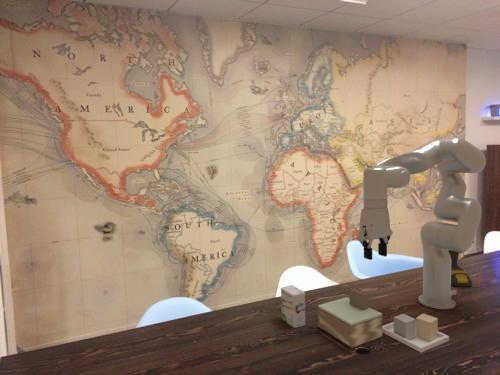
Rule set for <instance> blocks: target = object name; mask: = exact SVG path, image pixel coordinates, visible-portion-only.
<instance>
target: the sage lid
mask: <svg viewBox="0 0 500 375" xmlns="http://www.w3.org/2000/svg"><path fill="white" fill-rule="evenodd" d="M348 291H349V296H346V297H343V298H338V299H335V300H332V301H328V302H324V303H322V304H318V305H317V309H318V308H320V309H322V310H324V311H325V312H327V313H329V314H331V315H333V316H334V317H336V318H338V319H340V320H342V321H343V322H345V323H347V324H349V325H350V326H353V325H356V324H359V323H362V322H365V321H368V320H371V319H374V318H377V317H380V316H382V317H383V313H382V312H380V311H378V310H375V309H373V308H371V307H370V306H369V293H367V292H365V291H362V290H360V289H358V288H355V287H354V288H350V289H349V290H348Z"/></svg>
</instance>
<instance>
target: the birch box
mask: <svg viewBox="0 0 500 375" xmlns="http://www.w3.org/2000/svg"><path fill="white" fill-rule="evenodd" d="M382 326H383V315H382V316H380V317H377V318H374V319H371V320H368V321H365V322H362V323H359V324H356V325H353V326H350V325H349V324H347V323H345V322H343V321H342V320H340V319H338V318H336V317H334V316H333V315H331V314H329V313H327V312H325V311H324V310H322V309H320V308H318V307H317V327H318V328H320V329H321V330H323V331H324V332H326V333H328V334H329V335H331V336H332V337H334V338H335V339H337V340H339V341H340V342H341V343H342V344H345V345H346V346H348V347H350V348H355V347H358V346H360V345H364V344H366V343H369V342H370V341H373V340H376V339H379V338H382V337H383V333H382Z"/></svg>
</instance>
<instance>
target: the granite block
mask: <svg viewBox="0 0 500 375" xmlns="http://www.w3.org/2000/svg"><path fill="white" fill-rule="evenodd" d="M393 322H394V333H395V334H397V335H399V336H401V337H403V338H405V339H407V340H411V339H414V338H416V318H413V317H412V316H409V315H407V314H405V313H402V314H399V315H395V316H394V317H393Z"/></svg>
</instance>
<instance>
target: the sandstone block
mask: <svg viewBox="0 0 500 375" xmlns="http://www.w3.org/2000/svg"><path fill="white" fill-rule="evenodd" d="M415 319H416V336H417V337H419V338H422V339H424V340H427V341H430V342H431V341H432V340H434V339H435V338H437V331H438V326H439V325H438V323H439V322H438V321H439V319H438V317H436V316H435V317H434V316H432V315H429V314H427V313H421V314H420V315H418V316H417V317H415ZM438 332H439V331H438Z"/></svg>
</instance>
